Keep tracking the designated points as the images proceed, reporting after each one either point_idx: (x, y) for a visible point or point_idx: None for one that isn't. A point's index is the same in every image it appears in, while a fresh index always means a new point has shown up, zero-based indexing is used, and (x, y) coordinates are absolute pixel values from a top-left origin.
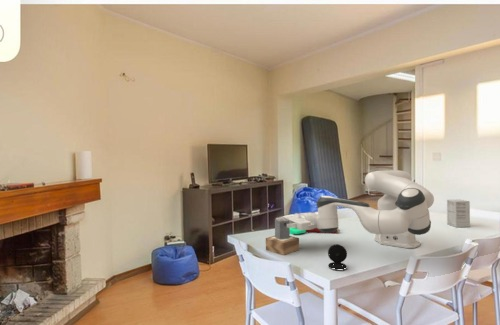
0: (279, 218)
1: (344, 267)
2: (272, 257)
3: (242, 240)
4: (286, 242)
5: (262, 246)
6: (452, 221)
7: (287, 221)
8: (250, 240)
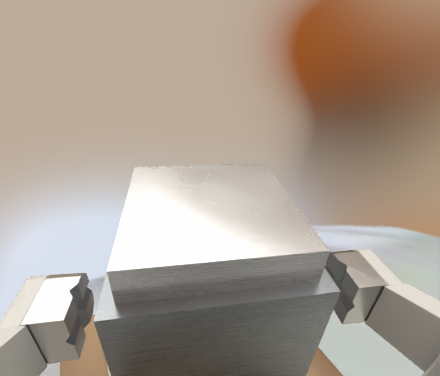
0: (204, 176)
1: None
2: (94, 303)
3: (401, 247)
4: (61, 372)
5: None
6: None
7: (106, 285)
8: (415, 276)
